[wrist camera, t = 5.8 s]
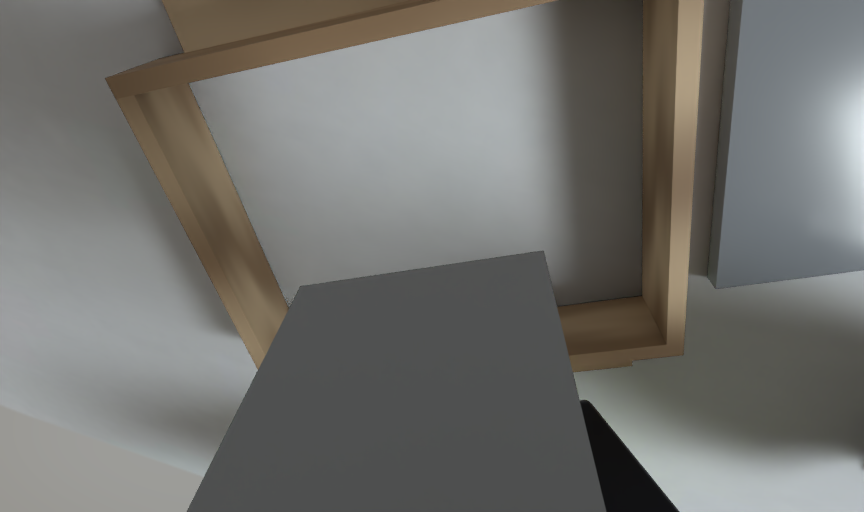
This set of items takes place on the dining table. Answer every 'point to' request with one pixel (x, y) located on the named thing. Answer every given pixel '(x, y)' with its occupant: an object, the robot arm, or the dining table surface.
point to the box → (413, 401)
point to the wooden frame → (376, 20)
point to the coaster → (790, 143)
